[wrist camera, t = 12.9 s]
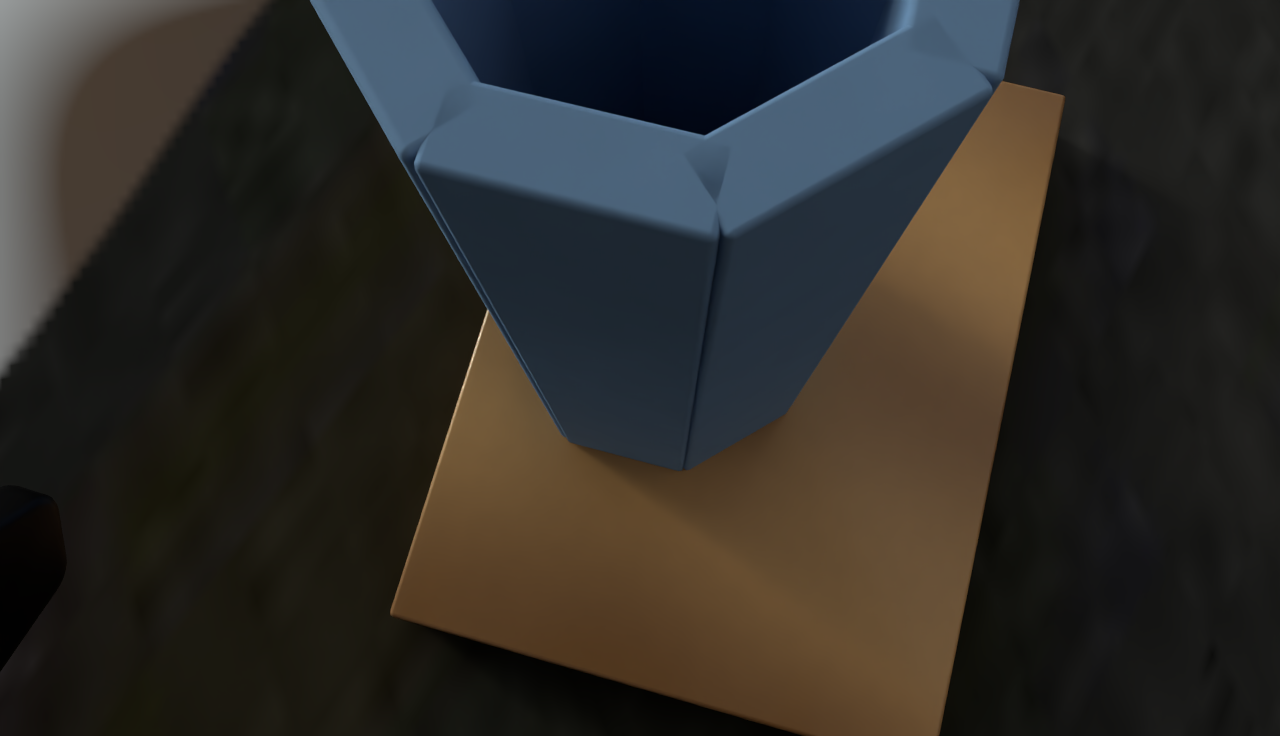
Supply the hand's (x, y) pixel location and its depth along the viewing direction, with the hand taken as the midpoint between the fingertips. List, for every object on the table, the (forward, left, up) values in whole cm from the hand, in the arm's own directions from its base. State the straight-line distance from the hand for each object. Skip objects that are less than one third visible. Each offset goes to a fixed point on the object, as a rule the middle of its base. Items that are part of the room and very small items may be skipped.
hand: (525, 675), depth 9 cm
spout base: (+6, -1, -9) cm, 11 cm away
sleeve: (+6, 0, -8) cm, 10 cm away
